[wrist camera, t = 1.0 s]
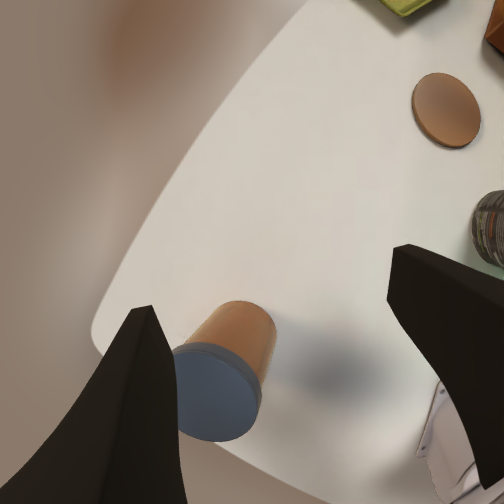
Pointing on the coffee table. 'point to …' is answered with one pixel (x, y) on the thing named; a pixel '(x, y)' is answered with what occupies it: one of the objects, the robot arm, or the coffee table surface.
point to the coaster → (446, 110)
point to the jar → (241, 334)
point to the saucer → (404, 6)
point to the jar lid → (215, 392)
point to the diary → (496, 26)
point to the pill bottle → (490, 228)
